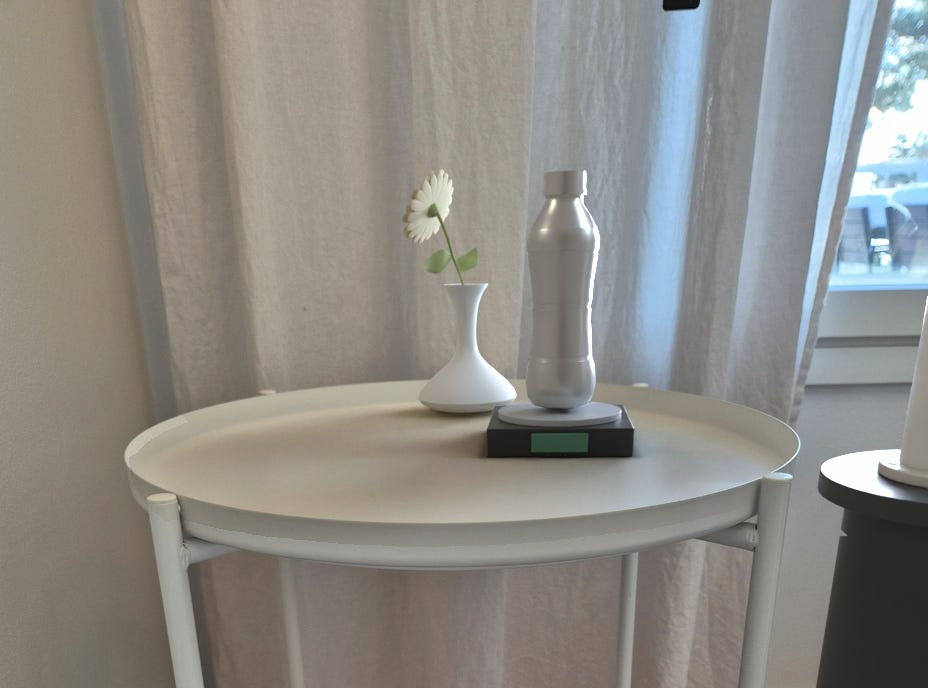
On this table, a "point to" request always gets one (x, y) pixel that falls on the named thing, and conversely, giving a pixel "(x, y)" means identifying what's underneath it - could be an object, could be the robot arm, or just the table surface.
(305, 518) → the table surface
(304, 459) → the table surface
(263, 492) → the table surface
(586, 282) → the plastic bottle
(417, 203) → the flower in vase
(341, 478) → the table surface
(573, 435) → the scale
